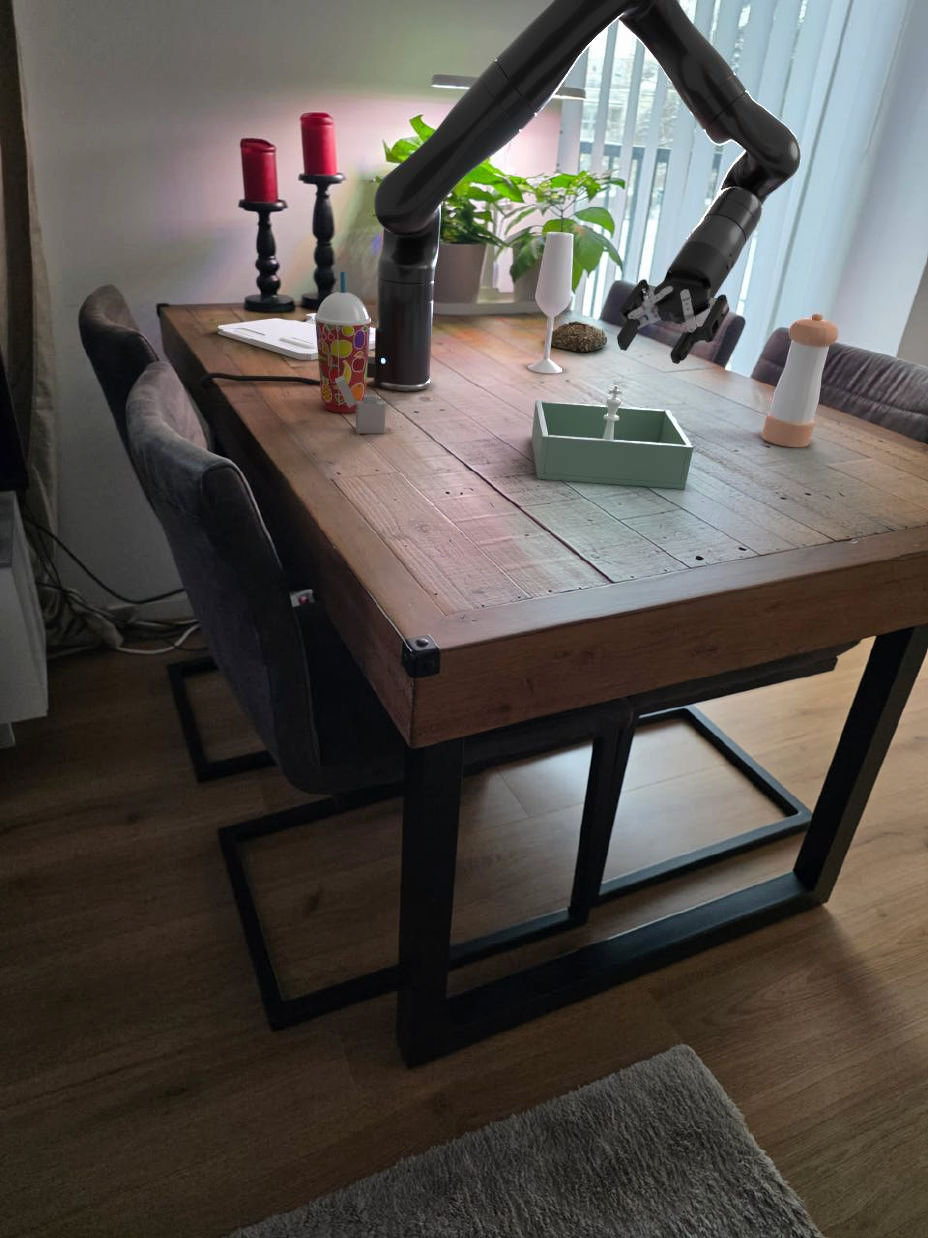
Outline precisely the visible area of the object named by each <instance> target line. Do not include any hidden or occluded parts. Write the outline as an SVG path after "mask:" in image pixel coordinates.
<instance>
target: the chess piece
mask: <svg viewBox="0 0 928 1238" xmlns="http://www.w3.org/2000/svg"><path fill="white" fill-rule="evenodd" d="M618 388H619V385H617V384H614V388H613V389H611V388H610V389H609V390H608V394H610V395H611V394H612V397H608V398H606V406H607V407H608V414H606V415H604V417H603V418H604V419H606V420H607V424H606V428H605V432H604V435H603V439H610V440H613V434H614V421H617V420H619V417H618V416H617V415H616V412H617V410H618V408H619V407H621V405H622V400H621V399H620V398H618V397H617V395H622V393H623V390H619V389H618Z"/></svg>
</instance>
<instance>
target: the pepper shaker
mask: <svg viewBox="0 0 928 1238" xmlns="http://www.w3.org/2000/svg"><path fill="white" fill-rule="evenodd" d="M788 338H789V339H790V340H791V341H790V345H789V350H788V353H787V357H786V361H785V365H784V368H783V371H782V373H781V375H780V378H779V380H778V383H777V385H776V388H775V389H774V393H773V397H772V402H771V406H770V411H769V412H768V413H767V414H766V415H765V421H764V424H763V428H762V432H761V438H762V439H763V440H764V441H766V442H768V443H770V444H773V445H777V446H781V447H787V448H805V447H807V446H809V445H810V443H811V438H812V435H813V431H814V427H815V420H814V418H815V415H816V411H817V407H818V404H819V401H820V395H821V386H822V377H823V372H824V369H825V364H826V361H827V357H828V353H829V349H830V346H832V345H834V344H835V342H836V341H837V340H838V338H839V331H838V328H837V326H836V325H835V324H834V323H833V322H831V321H829V320H826V319H824V316H823V314H821V313H813V314H812V315H811V317H802V318H800V319H796V320H795V321H794V322H792V323H791V325H790V326H789V328H788Z"/></svg>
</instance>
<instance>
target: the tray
mask: <svg viewBox="0 0 928 1238" xmlns="http://www.w3.org/2000/svg"><path fill="white" fill-rule="evenodd" d="M317 313H318V312H317ZM317 313H314V312H313V313H306V320H305V321H300V320H296V319H293V320H290V319H283V318H278V317H275V318H267V319H259V320H258V319H257V320H251V321H242V322H236V323H227V324H219V325H218V326H217V329H218V332H217V334H218V335H220V336H224V337H227V338H230V339H233V340H237V341H239V342H241V343H242V342H243V343H245V344H249V345H252V346H255V347H258V348H261V349H265V350H267V351H271V352H275V353H277V354H280V355H284V356H287V357H289V358H293V359H297V360H301V361H302V360H303V361H315V360H318V349H317V336H316V322H315V314H317ZM375 330H376V328H375V327H372V326H370V337H369V351H370V350H375Z"/></svg>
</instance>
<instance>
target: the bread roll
mask: <svg viewBox="0 0 928 1238" xmlns="http://www.w3.org/2000/svg"><path fill="white" fill-rule="evenodd" d="M607 343H608V337H607V336H606V333H605V332H604V330H601V329H599V328H597V327H596V326H594V325H592V324H589V323H583V322H581V321H577V320H575V321H570V322H568V323H563V324H561V325H560V326H558V327H557V328H555V329H554V330H552V339H551V346H552V347H554V348H558V349H561V350H562V349H563V350H567V351H571V352H576V353H590V352H595V351H598V350H599V349H602V348H604V346H606V345H607Z"/></svg>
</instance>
